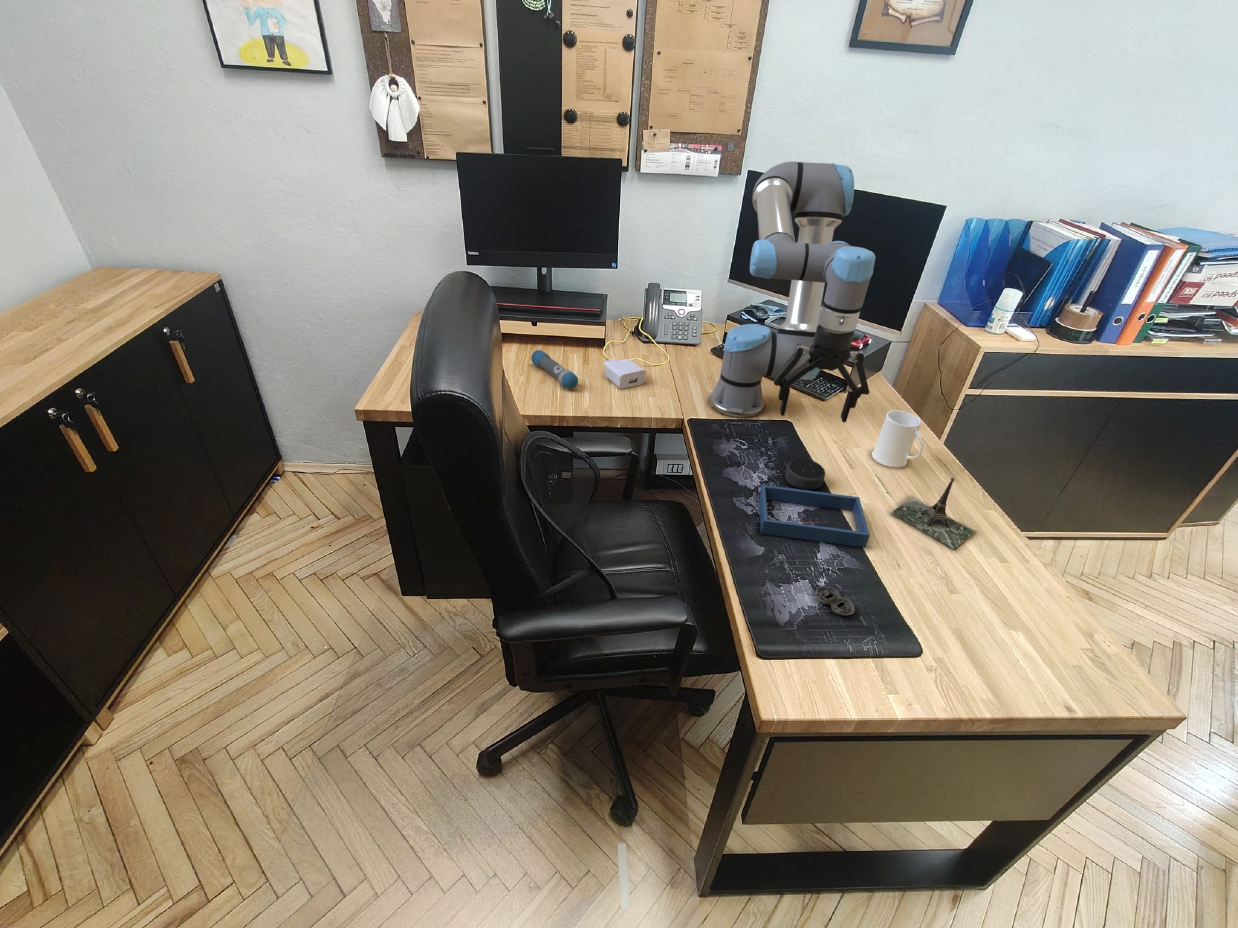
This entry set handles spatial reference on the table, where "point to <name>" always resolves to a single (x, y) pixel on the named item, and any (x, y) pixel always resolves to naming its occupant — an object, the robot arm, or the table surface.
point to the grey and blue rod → (555, 369)
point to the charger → (624, 373)
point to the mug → (897, 439)
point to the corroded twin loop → (835, 600)
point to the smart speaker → (805, 474)
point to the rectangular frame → (811, 531)
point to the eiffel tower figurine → (935, 520)
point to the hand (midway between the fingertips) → (812, 416)
